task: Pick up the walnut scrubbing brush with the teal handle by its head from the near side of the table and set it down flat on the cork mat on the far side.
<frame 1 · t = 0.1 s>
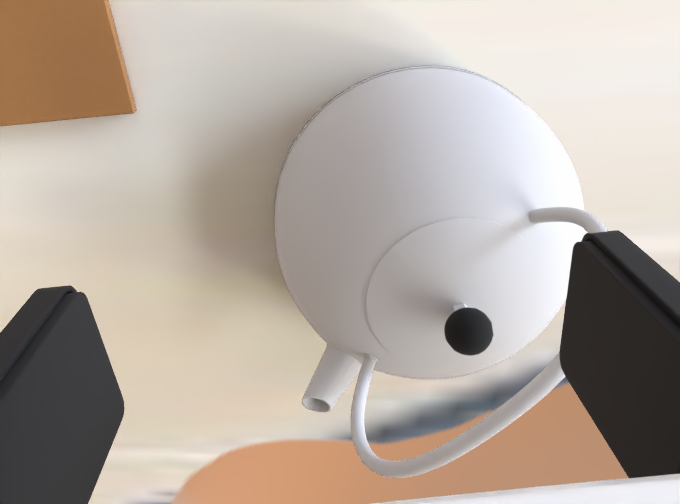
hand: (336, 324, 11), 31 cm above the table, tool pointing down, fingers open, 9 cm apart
kettle: (406, 222, 45), on the table
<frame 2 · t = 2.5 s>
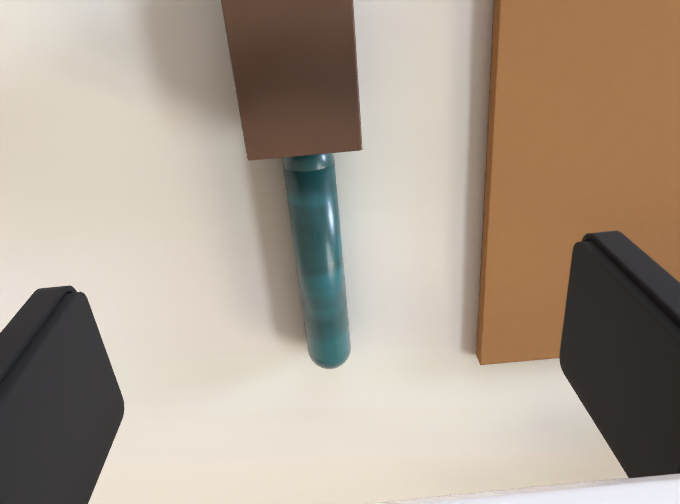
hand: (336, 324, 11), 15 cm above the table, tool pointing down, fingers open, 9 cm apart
cork mat: (612, 176, 26), on the table
brush: (296, 45, 22), on the table
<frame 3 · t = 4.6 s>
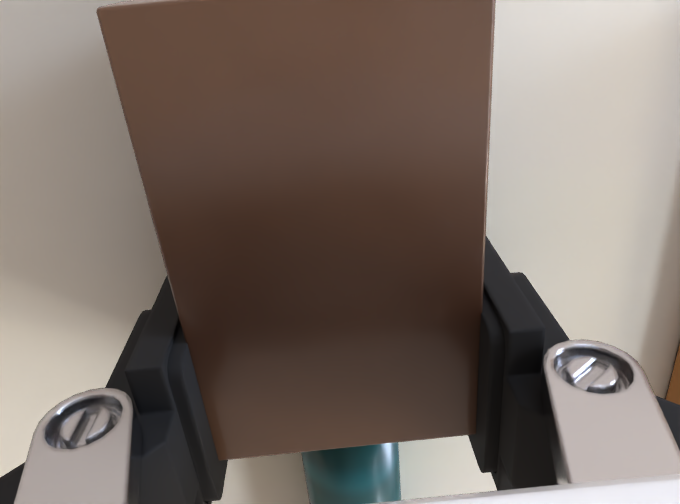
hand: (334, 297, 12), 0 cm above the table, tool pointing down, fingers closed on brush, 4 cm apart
brush: (321, 179, 11), on the table, touching gripper
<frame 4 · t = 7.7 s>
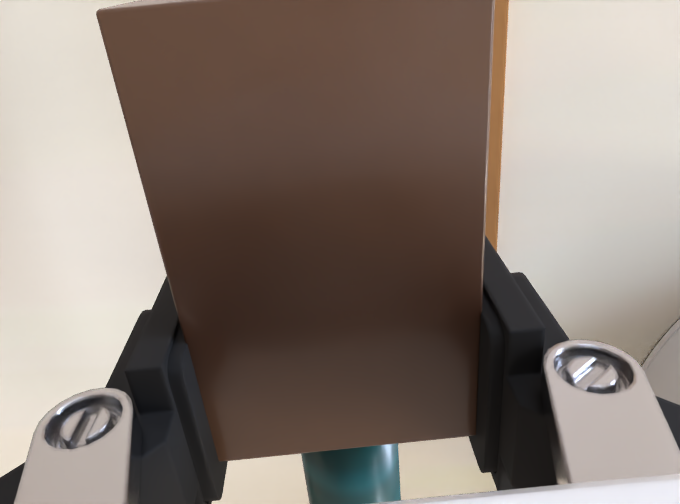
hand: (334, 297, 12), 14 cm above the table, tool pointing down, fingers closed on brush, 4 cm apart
cork mat: (361, 100, 24), on the table
brush: (321, 180, 11), point 14 cm above the table, touching gripper
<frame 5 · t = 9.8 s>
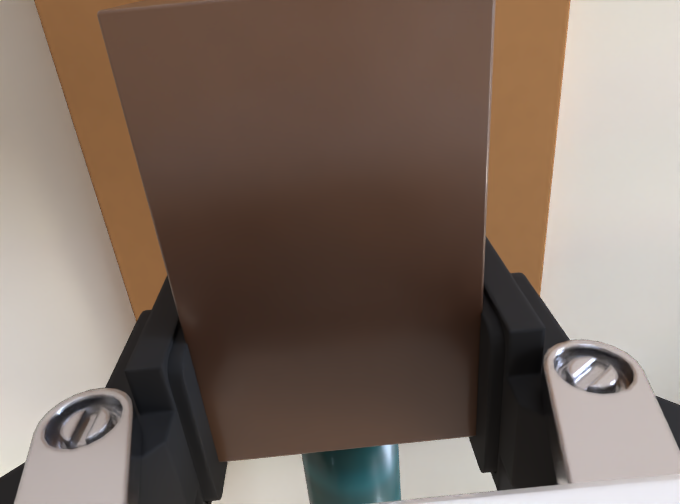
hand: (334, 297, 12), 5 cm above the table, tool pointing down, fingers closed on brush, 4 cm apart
cork mat: (324, 153, 15), on the table
brush: (321, 181, 11), point 4 cm above the table, touching gripper
when the fingers open (1 cm above the table, at t = 11.1 s): brush stays where it is, resting on cork mat.
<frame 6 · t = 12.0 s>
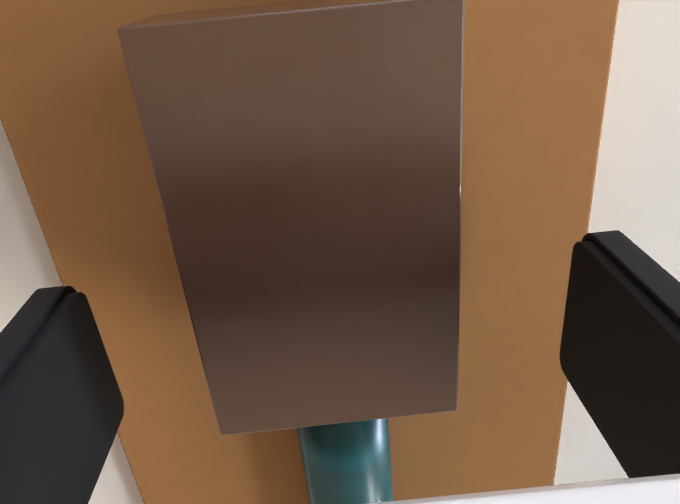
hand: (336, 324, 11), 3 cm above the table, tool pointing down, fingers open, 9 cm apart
cork mat: (320, 204, 13), on the table
brush: (316, 179, 12), point 1 cm above the table, touching cork mat
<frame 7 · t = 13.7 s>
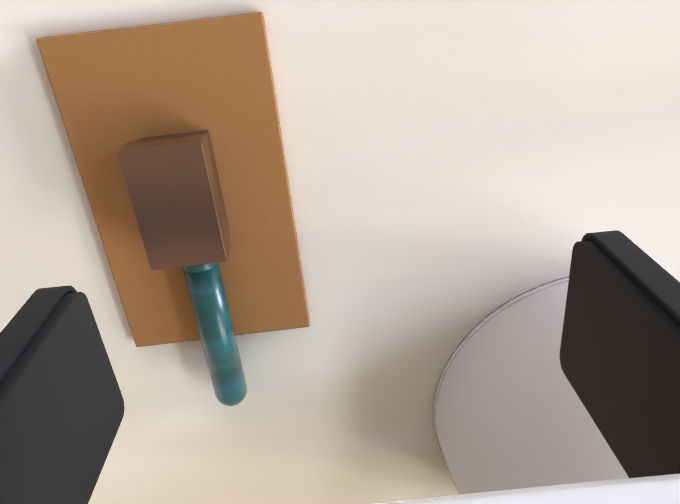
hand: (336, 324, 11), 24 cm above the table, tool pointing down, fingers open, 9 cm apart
kettle: (563, 406, 44), on the table
cork mat: (193, 197, 34), on the table
brush: (187, 188, 33), point 1 cm above the table, touching cork mat
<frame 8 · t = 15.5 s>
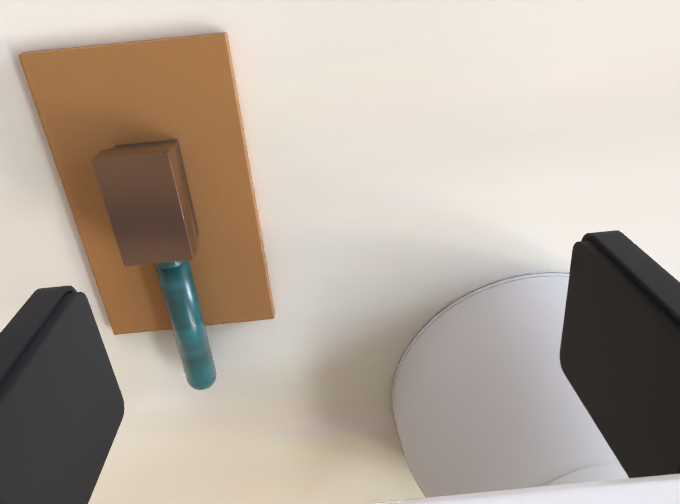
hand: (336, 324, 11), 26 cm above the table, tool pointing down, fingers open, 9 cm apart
kettle: (513, 395, 47), on the table
cork mat: (165, 199, 37), on the table
brush: (158, 191, 36), point 1 cm above the table, touching cork mat
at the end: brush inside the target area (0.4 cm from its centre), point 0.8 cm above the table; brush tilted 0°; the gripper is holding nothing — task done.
